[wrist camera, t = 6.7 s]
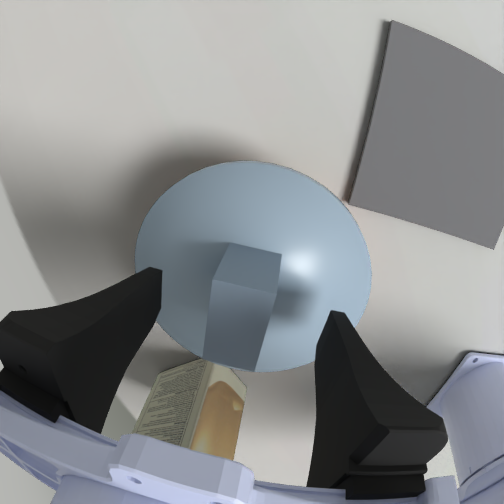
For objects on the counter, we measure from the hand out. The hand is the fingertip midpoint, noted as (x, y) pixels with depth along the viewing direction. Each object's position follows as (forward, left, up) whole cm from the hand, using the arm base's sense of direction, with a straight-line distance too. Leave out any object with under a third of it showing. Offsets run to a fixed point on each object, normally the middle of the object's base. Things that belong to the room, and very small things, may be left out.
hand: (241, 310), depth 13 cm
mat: (-9, -9, -5) cm, 14 cm away
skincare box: (+2, +12, -6) cm, 13 cm away
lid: (0, 0, -2) cm, 2 cm away
